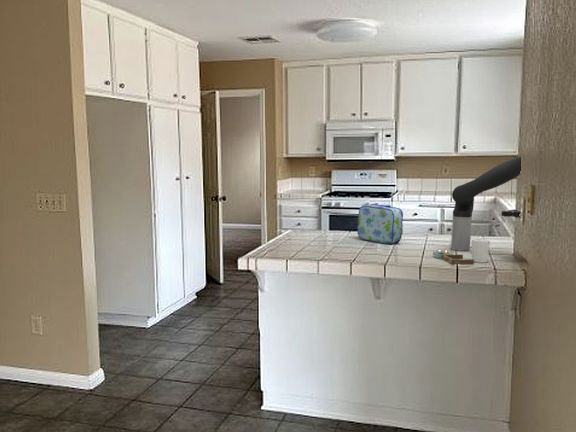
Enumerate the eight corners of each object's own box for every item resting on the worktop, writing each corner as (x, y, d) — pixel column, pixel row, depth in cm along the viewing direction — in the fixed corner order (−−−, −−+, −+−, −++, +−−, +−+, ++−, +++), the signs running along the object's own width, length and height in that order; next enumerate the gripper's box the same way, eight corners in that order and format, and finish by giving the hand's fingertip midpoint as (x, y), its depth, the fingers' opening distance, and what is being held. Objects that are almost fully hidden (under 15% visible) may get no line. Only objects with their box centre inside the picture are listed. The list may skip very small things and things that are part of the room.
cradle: (441, 259, 244) (441, 254, 244) (461, 258, 246) (462, 254, 245) (452, 264, 233) (452, 260, 232) (473, 264, 234) (474, 259, 234)
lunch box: (404, 243, 284) (406, 205, 281) (392, 246, 277) (394, 206, 274) (367, 237, 303) (368, 201, 300) (355, 239, 296) (356, 202, 293)
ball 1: (435, 255, 250) (434, 249, 249) (441, 253, 250) (440, 247, 249) (438, 257, 247) (437, 251, 246) (444, 255, 247) (443, 250, 246)
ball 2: (441, 255, 248) (441, 249, 247) (447, 255, 248) (447, 249, 248) (443, 257, 245) (444, 251, 244) (449, 257, 245) (450, 250, 245)
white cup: (484, 259, 245) (485, 238, 243) (491, 263, 237) (492, 241, 236) (467, 259, 244) (469, 238, 243) (474, 263, 237) (475, 241, 235)
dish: (432, 256, 251) (432, 251, 250) (446, 256, 252) (446, 251, 251) (438, 259, 244) (438, 254, 244) (452, 259, 245) (452, 254, 244)
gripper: (530, 204, 247) (495, 204, 245) (547, 207, 234) (511, 207, 232) (528, 219, 248) (494, 219, 246) (546, 223, 235) (510, 224, 233)
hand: (502, 213), depth 239 cm, fingers closed
